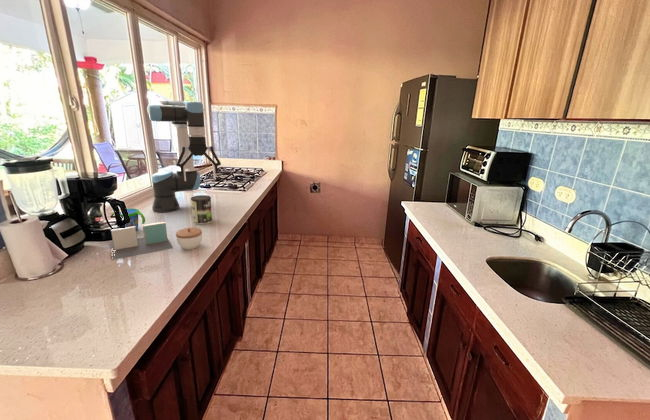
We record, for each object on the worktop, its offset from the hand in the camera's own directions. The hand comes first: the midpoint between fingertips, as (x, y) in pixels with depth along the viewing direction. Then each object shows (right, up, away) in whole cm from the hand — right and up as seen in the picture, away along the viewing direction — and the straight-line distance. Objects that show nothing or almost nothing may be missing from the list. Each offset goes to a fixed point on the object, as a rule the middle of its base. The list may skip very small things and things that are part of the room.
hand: (200, 179), depth 151 cm
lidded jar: (+1, -32, -12) cm, 35 cm away
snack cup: (-38, -26, +4) cm, 46 cm away
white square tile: (-26, -32, -16) cm, 44 cm away
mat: (-21, -31, -14) cm, 40 cm away
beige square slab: (-17, -30, -9) cm, 35 cm away
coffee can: (-7, -22, +21) cm, 31 cm away
